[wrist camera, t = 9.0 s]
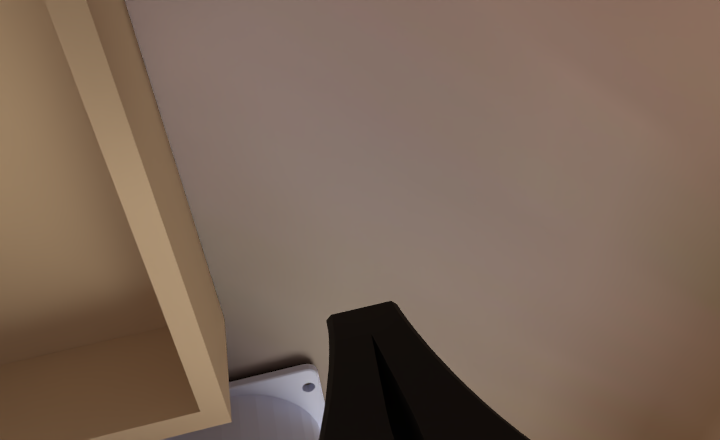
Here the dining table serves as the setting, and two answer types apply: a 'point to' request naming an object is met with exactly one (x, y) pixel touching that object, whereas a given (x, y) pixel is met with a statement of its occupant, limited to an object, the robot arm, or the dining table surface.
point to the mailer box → (96, 241)
